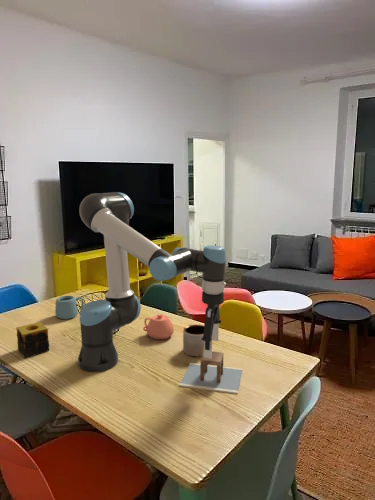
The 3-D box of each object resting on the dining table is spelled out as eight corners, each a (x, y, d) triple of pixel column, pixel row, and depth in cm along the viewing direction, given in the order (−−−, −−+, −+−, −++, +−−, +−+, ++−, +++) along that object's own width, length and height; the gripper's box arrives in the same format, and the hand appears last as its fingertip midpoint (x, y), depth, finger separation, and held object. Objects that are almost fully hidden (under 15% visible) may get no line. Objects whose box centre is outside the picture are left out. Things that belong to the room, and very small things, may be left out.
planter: (207, 358, 149) (207, 336, 147) (180, 356, 151) (180, 333, 149) (211, 346, 159) (211, 325, 158) (186, 344, 162) (186, 323, 160)
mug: (79, 309, 204) (78, 291, 202) (88, 315, 196) (87, 296, 194) (52, 316, 195) (51, 297, 193) (60, 322, 186) (59, 303, 184)
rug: (179, 386, 130) (179, 384, 130) (190, 363, 145) (190, 362, 145) (237, 393, 125) (237, 392, 125) (242, 370, 140) (242, 368, 140)
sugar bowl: (170, 342, 163) (170, 320, 162) (139, 340, 166) (139, 318, 164) (176, 331, 175) (176, 310, 173) (147, 329, 178) (146, 308, 176)
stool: (200, 380, 132) (200, 359, 131) (204, 370, 139) (204, 350, 137) (220, 383, 131) (220, 361, 129) (223, 373, 137) (223, 352, 136)
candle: (24, 358, 150) (22, 335, 148) (17, 349, 157) (14, 327, 155) (50, 351, 156) (48, 328, 154) (41, 343, 164) (40, 321, 162)
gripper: (218, 304, 116) (215, 367, 120) (229, 281, 140) (226, 335, 144) (194, 302, 118) (192, 364, 122) (209, 280, 141) (207, 332, 146)
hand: (211, 348), depth 133 cm, fingers open, 13 cm apart
